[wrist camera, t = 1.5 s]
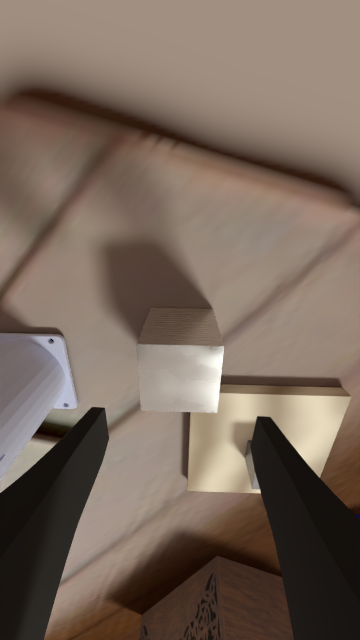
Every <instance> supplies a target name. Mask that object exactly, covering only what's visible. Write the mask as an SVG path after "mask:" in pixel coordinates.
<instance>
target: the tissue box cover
mask: <svg viewBox="0 0 360 640" xmlns="http://www.w3.org/2000/svg"><path fill="white" fill-rule="evenodd" d="M139 640H294V638H293V632H292V626H291V621H290V615H289V610H288V605H287V599H286V594H285V589H284V584H283V579H282V577H280V576H277V575H274V574H271V573H268V572H265V571H262V570H259V569H256V568H252V567H249V566H246V565H243V564H240V563H237V562H234V561H231V560H228V559H225V558H222V557H219V556H216V557H215V558H214V559H213V560H211V561H210V562H209V563H207V564H206V565H205V566H204V567H202V568H201V569H200V570H199V571H197V572H196V573H195V574H193V575H192V576H191V577H190V578H188V579H187V580H186V581H185V582H183V583H182V584H181V585H179V586H178V587H177V588H176V589H174V590H173V591H172V592H171V593H169V594H168V595H167V596H165V597H164V598H163V599H162V600H160V601H159V602H158V603H157V604H155V605H154V606H153V607H152V608H150V609H149V610H148V611H146V612H145V613H144V614H143V615H142V618H141V627H140V636H139Z"/></svg>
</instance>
